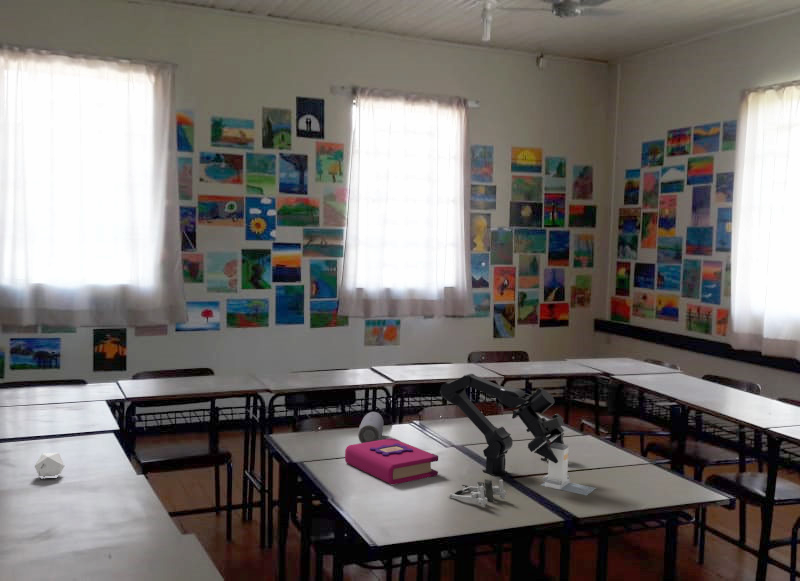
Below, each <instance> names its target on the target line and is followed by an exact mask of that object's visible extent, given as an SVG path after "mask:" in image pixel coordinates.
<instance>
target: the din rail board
mask: <svg viewBox="0 0 800 581" xmlns="http://www.w3.org/2000/svg"><path fill="white" fill-rule="evenodd" d="M570 479H571V478H570V475H567V481H565V482H564V483H563V484H561V481H556V480H551V479H548V474H546V475H545V476H543V477H542V481H543V483H541V484H540V486H541V487H546V488H550V489H555V490H559V491H560V490H561V491H564V492H569V493H574V494H579V495H583V496H585V497H586V496H588V495H589V494H591V493H592V492H594V490H596V489H597V487H593V486H589V485H588V486H587V485H582V484H578V483H573V482H571V480H570Z"/></svg>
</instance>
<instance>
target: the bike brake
mask: <svg viewBox="0 0 800 581" xmlns="http://www.w3.org/2000/svg"><path fill="white" fill-rule="evenodd" d="M461 486H462V487H464V486H465V488H462V489H460V490H457V491H455V492H450V493H449V494H448V496H447V498H449V499H455V500H462V501H473V502H478V503H479V504H480V505H481V507H486V506H487V503H488V502H491V503H494V501H495V500H494V496H499V497H500V498H501V500H505V498H506V495H507V490H505V489H504V480H503V479H499V485H493V481H492V480H491V479H484V482H482V481H477V482H476V486H472V485H470V486H469V485H466V484H461ZM469 492H470V495H462V494H466V493H469Z"/></svg>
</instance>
